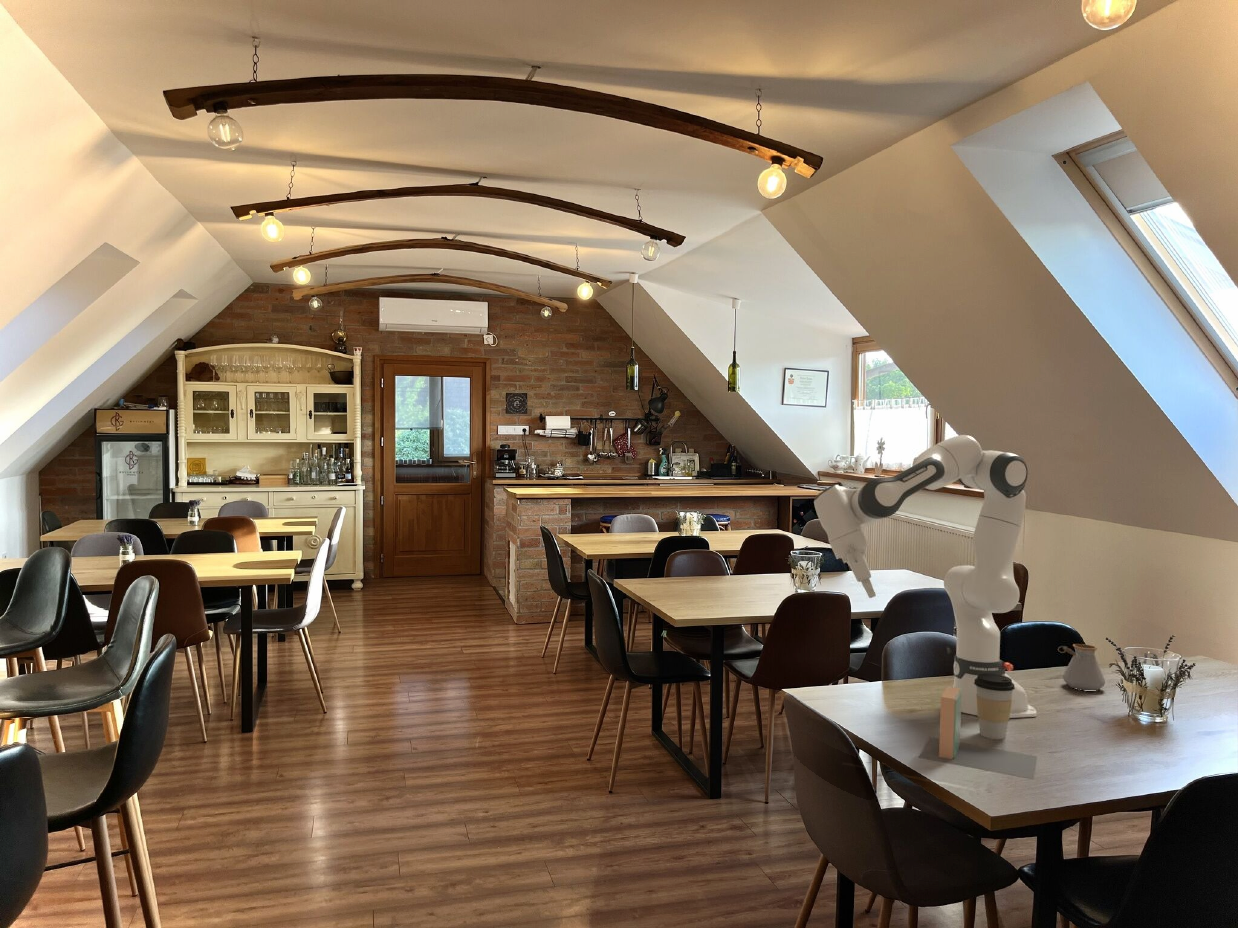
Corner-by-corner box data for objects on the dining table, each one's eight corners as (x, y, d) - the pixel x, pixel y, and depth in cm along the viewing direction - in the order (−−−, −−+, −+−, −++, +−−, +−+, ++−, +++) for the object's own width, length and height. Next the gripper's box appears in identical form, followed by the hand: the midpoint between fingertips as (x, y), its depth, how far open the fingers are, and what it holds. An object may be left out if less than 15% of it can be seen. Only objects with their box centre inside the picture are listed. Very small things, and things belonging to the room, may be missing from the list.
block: (938, 756, 200) (941, 696, 199) (945, 743, 208) (947, 686, 208) (954, 759, 198) (956, 699, 198) (959, 746, 207) (961, 688, 206)
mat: (918, 759, 199) (918, 757, 199) (929, 738, 213) (929, 736, 213) (1033, 781, 187) (1033, 778, 187) (1037, 758, 202) (1037, 755, 202)
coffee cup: (1010, 746, 209) (1012, 685, 209) (968, 738, 214) (971, 678, 214) (1015, 735, 217) (1017, 676, 217) (975, 727, 222) (977, 670, 222)
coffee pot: (1072, 680, 270) (1074, 633, 270) (1111, 689, 261) (1113, 640, 261) (1039, 691, 257) (1041, 642, 256) (1079, 701, 248) (1081, 650, 247)
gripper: (861, 540, 211) (885, 592, 208) (862, 543, 231) (884, 591, 228) (837, 549, 212) (860, 602, 209) (839, 552, 232) (861, 600, 229)
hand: (872, 596), depth 219 cm, fingers open, 8 cm apart
